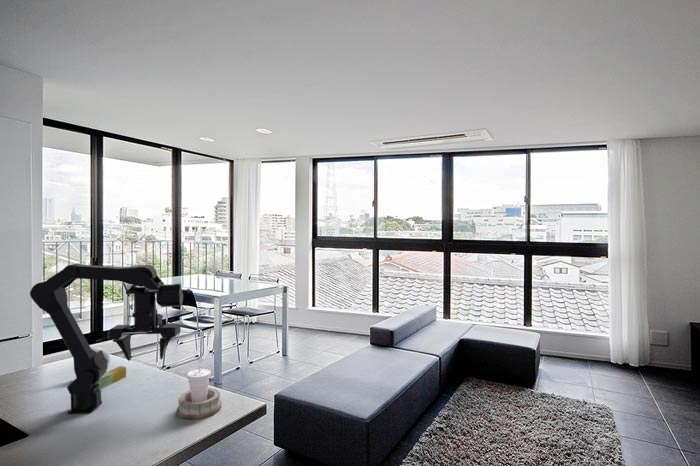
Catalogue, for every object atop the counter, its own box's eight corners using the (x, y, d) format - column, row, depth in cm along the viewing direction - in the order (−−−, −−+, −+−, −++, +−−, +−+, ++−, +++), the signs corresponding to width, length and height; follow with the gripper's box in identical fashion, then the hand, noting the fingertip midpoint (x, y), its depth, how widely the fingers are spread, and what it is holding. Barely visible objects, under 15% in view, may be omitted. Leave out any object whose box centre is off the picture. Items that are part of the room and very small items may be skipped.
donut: (79, 381, 134) (78, 352, 134) (75, 379, 136) (75, 350, 136) (111, 373, 142) (111, 345, 141) (108, 370, 144) (107, 343, 144)
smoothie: (215, 401, 118) (214, 354, 117) (203, 412, 111) (203, 362, 111) (195, 399, 119) (194, 353, 118) (182, 410, 112) (182, 361, 112)
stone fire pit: (171, 420, 108) (170, 406, 108) (184, 400, 120) (184, 387, 120) (216, 418, 110) (216, 404, 110) (225, 398, 122) (224, 386, 122)
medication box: (97, 391, 127) (97, 379, 127) (90, 390, 127) (90, 378, 127) (126, 377, 138) (126, 366, 138) (120, 376, 139) (120, 365, 139)
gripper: (185, 301, 127) (186, 349, 128) (124, 302, 125) (124, 351, 126) (174, 309, 116) (174, 362, 117) (106, 310, 114) (107, 364, 115)
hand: (145, 359), depth 119 cm, fingers open, 9 cm apart
